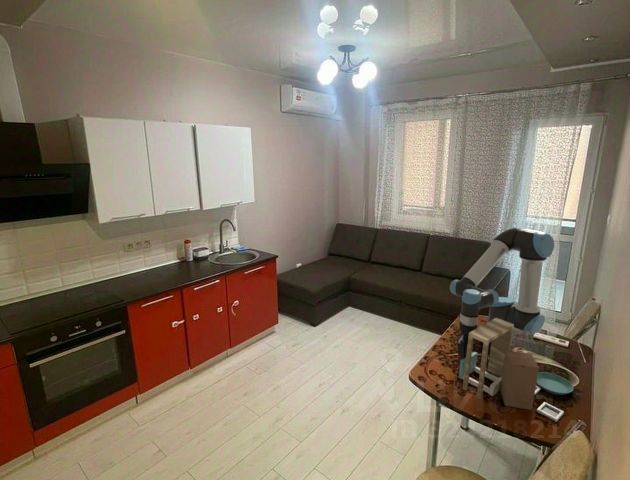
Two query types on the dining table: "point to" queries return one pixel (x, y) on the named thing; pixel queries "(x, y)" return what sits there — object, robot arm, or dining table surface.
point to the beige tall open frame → (500, 342)
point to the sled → (497, 381)
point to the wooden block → (519, 380)
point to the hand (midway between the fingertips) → (463, 367)
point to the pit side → (537, 390)
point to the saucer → (554, 383)
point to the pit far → (550, 411)
